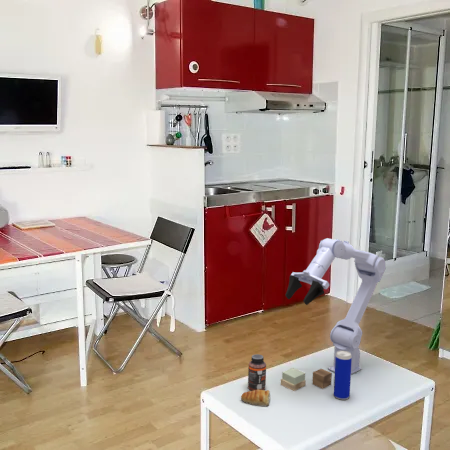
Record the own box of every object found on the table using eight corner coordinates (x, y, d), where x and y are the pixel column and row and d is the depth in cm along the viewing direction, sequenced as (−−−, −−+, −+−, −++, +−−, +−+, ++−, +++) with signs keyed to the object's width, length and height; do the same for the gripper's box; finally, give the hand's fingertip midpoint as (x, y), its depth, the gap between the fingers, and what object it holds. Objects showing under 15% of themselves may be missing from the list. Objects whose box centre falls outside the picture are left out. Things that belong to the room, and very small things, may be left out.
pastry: (240, 405, 173) (240, 394, 172) (242, 395, 179) (242, 384, 179) (269, 407, 172) (270, 396, 171) (270, 397, 178) (271, 386, 178)
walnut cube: (320, 380, 190) (321, 368, 190) (331, 385, 187) (331, 372, 186) (312, 384, 187) (312, 372, 187) (322, 389, 184) (323, 376, 183)
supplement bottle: (264, 393, 181) (265, 361, 179) (246, 391, 182) (247, 359, 180) (266, 385, 186) (267, 353, 184) (249, 383, 187) (250, 352, 185)
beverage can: (339, 391, 182) (341, 348, 180) (352, 396, 179) (355, 353, 176) (330, 396, 179) (332, 353, 176) (343, 402, 175) (346, 358, 173)
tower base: (292, 380, 191) (292, 374, 190) (305, 387, 186) (305, 380, 186) (280, 386, 187) (280, 379, 186) (293, 392, 182) (294, 385, 182)
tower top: (292, 374, 190) (293, 367, 189) (305, 380, 186) (305, 373, 185) (282, 379, 186) (282, 372, 186) (294, 384, 182) (294, 377, 182)
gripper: (296, 256, 183) (274, 287, 178) (330, 264, 172) (308, 297, 167) (304, 269, 187) (283, 300, 182) (339, 278, 176) (317, 311, 171)
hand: (296, 300), depth 175 cm, fingers open, 7 cm apart
